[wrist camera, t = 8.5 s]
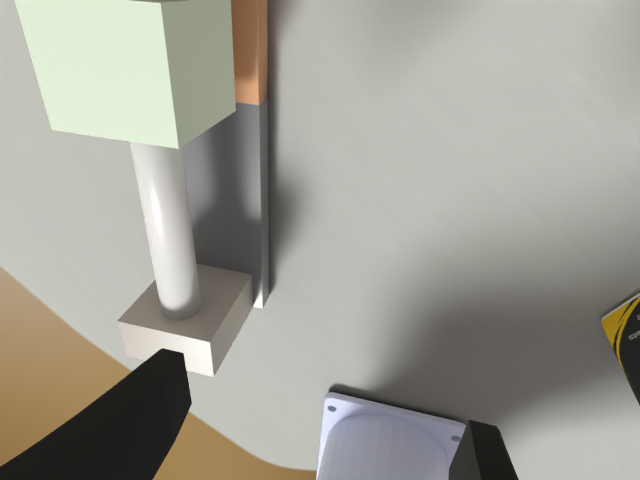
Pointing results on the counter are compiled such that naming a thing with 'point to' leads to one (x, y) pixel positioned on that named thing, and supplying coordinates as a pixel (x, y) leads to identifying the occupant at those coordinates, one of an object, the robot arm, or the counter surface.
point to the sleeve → (132, 66)
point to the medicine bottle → (626, 339)
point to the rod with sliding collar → (208, 219)
